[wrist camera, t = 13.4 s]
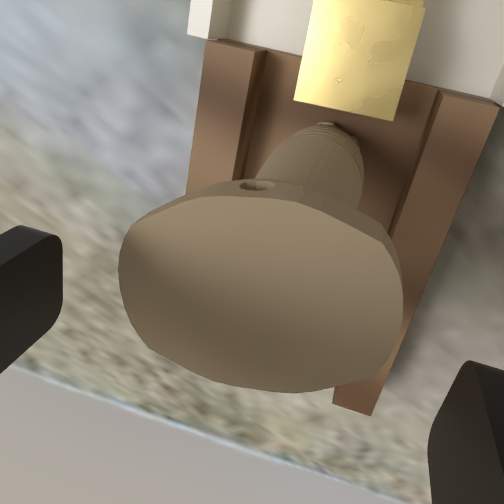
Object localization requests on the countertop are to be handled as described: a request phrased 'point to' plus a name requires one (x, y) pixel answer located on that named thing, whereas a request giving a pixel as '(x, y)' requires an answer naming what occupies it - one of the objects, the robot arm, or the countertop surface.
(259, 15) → the tray
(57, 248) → the robot arm
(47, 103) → the countertop surface
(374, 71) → the chip
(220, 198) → the handle
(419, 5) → the golden brown cube
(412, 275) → the slot board
